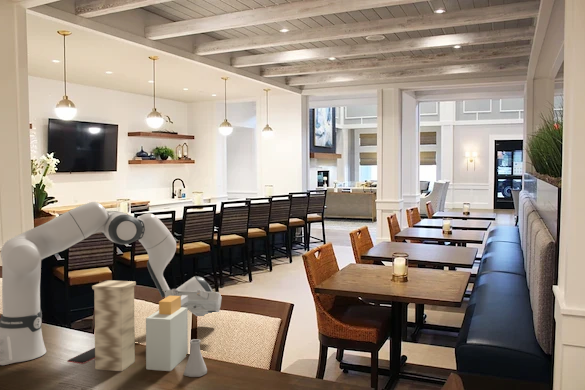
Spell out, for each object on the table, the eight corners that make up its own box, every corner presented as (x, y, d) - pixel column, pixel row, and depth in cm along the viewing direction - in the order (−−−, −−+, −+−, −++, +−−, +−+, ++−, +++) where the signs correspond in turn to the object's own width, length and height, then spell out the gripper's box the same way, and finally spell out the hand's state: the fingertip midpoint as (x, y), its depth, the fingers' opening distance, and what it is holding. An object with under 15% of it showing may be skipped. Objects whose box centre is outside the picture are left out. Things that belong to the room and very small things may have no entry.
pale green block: (146, 369, 156) (145, 318, 156) (165, 353, 170) (164, 306, 169) (170, 371, 155) (170, 319, 154) (187, 355, 169) (187, 307, 168)
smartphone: (65, 360, 163) (95, 346, 176) (65, 362, 163) (95, 348, 176) (83, 363, 161) (112, 349, 174) (83, 365, 161) (112, 350, 174)
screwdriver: (171, 314, 160) (170, 302, 160) (159, 313, 160) (159, 301, 160) (190, 301, 176) (190, 289, 176) (180, 300, 177) (180, 289, 177)
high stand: (93, 369, 156) (92, 285, 155) (108, 359, 164) (107, 280, 163) (123, 371, 154) (122, 287, 153) (136, 361, 163) (135, 281, 162)
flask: (201, 379, 149) (201, 345, 149) (179, 376, 151) (179, 343, 150) (211, 369, 156) (211, 337, 156) (189, 367, 158) (189, 336, 157)
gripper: (174, 293, 192) (160, 281, 180) (225, 295, 189) (215, 284, 177) (171, 309, 190) (156, 299, 177) (223, 312, 186) (212, 301, 174)
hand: (186, 291), depth 177 cm, fingers open, 8 cm apart
